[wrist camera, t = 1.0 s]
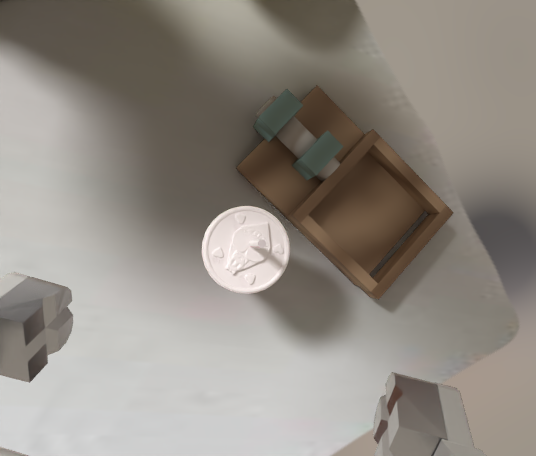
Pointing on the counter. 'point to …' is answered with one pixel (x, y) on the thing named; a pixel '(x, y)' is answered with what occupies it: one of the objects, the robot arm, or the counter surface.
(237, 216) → the smoothie
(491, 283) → the counter surface
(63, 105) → the counter surface
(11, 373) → the robot arm
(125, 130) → the counter surface
